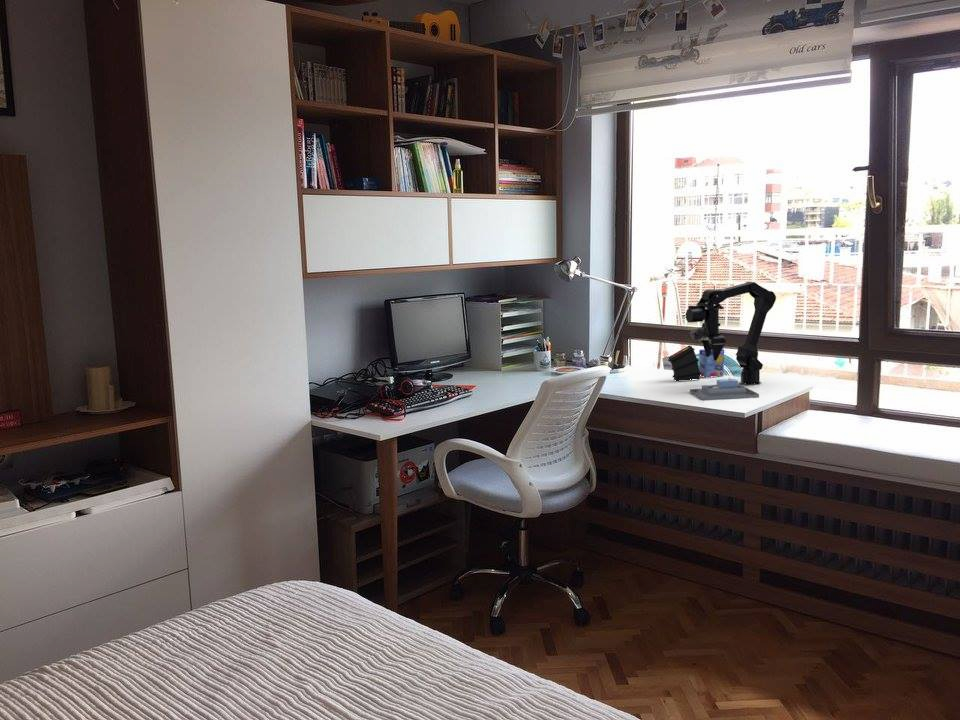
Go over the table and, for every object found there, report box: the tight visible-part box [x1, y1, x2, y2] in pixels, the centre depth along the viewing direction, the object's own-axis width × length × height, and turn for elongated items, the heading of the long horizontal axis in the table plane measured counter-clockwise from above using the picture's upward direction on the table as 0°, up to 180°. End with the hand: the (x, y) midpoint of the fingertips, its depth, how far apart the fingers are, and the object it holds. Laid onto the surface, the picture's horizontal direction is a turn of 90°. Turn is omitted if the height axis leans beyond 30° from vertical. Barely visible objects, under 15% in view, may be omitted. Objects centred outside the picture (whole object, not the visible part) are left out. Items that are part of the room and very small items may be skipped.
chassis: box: [689, 383, 760, 401], centre depth 318 cm, size 22×16×3 cm
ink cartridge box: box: [698, 348, 725, 377], centre depth 357 cm, size 10×6×14 cm, turn 111°
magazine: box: [667, 345, 701, 382], centre depth 351 cm, size 4×13×15 cm, turn 97°
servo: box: [713, 377, 739, 389], centre depth 318 cm, size 9×4×5 cm, turn 94°
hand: (711, 358), depth 332 cm, fingers open, 9 cm apart
